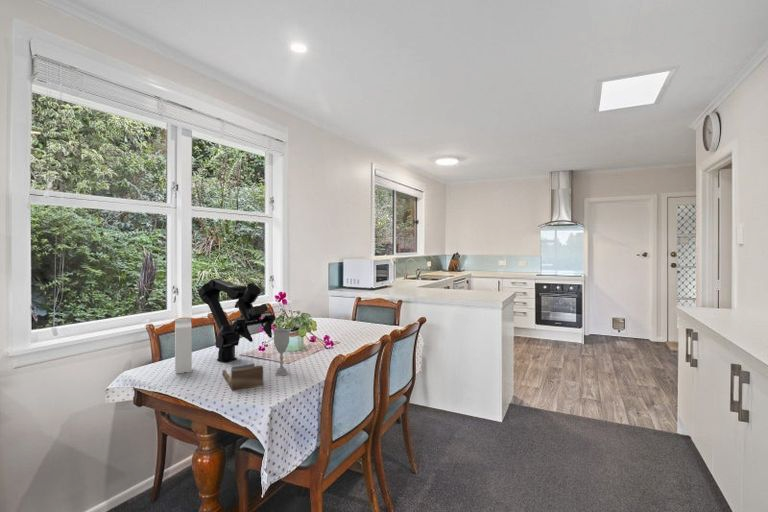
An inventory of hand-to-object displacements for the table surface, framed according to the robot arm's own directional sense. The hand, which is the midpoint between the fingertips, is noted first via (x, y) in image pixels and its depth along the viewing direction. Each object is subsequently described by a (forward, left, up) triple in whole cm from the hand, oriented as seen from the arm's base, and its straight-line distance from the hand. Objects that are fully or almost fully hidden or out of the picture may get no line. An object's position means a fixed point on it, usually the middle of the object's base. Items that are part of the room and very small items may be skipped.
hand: (261, 339), depth 165 cm
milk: (+16, -28, -14) cm, 36 cm away
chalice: (-3, +9, -14) cm, 16 cm away
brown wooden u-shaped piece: (+11, 0, -14) cm, 17 cm away
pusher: (+12, +3, -13) cm, 18 cm away
